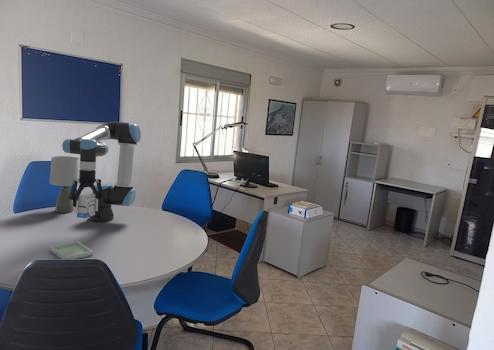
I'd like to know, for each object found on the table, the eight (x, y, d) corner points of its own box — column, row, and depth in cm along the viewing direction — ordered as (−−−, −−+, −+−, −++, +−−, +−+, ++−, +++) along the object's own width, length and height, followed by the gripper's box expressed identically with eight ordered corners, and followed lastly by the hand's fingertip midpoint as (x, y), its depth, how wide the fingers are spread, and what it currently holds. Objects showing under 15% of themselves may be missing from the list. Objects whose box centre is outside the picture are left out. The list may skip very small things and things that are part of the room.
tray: (78, 245, 176) (78, 241, 176) (92, 255, 166) (92, 251, 166) (50, 251, 166) (50, 246, 166) (64, 262, 156) (64, 257, 156)
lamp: (58, 216, 219) (59, 160, 213) (43, 210, 228) (43, 156, 223) (85, 211, 235) (86, 159, 229) (69, 206, 244) (71, 155, 239)
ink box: (84, 218, 171) (85, 196, 170) (76, 217, 172) (76, 194, 171) (95, 214, 180) (96, 193, 178) (87, 213, 181) (88, 192, 179)
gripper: (104, 167, 183) (103, 207, 187) (61, 168, 166) (60, 212, 169) (111, 169, 179) (109, 210, 182) (68, 171, 162) (66, 216, 165)
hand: (86, 211), depth 176 cm, fingers closed on ink box, 9 cm apart
